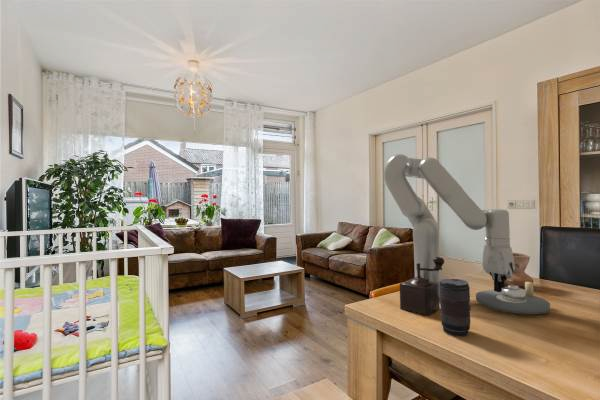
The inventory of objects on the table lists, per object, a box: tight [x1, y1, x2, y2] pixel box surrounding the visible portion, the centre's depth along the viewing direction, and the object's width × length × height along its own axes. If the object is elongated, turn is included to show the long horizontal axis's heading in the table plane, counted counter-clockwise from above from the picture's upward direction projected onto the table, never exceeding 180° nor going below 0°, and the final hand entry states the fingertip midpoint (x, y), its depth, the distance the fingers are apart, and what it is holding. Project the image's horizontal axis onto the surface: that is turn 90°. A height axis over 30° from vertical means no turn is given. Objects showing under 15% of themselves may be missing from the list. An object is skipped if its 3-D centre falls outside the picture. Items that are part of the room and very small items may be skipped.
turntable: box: [475, 282, 551, 315], centre depth 112 cm, size 22×22×6 cm
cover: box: [501, 285, 525, 302], centre depth 111 cm, size 7×7×5 cm
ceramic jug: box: [502, 252, 534, 289], centre depth 139 cm, size 18×14×14 cm
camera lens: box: [439, 278, 472, 338], centre depth 92 cm, size 8×8×15 cm
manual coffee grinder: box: [399, 256, 445, 317], centre depth 114 cm, size 16×11×18 cm
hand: (499, 291), depth 116 cm, fingers closed
